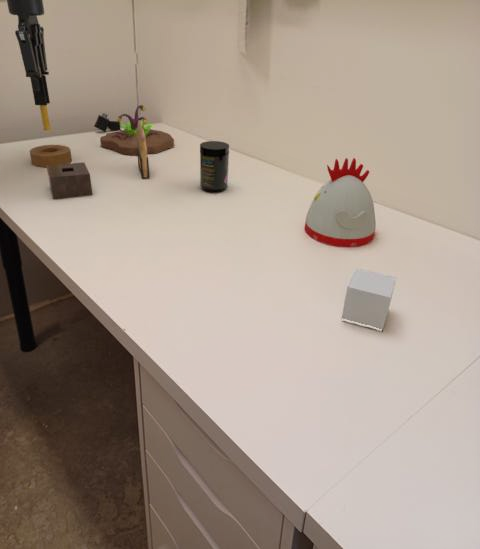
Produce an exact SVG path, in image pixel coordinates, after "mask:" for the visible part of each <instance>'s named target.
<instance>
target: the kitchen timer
mask: <svg viewBox="0 0 480 549" xmlns="http://www.w3.org/2000/svg"><path fill="white" fill-rule="evenodd" d="M326 168H327V172H328V174H329V177H330V179H329V180H327V182H326V183H324V184H323V185H322V186H321V187H320V188H319V190H318V191H317V192H316V194H314V195H315V196H313V200H312V201H311V202H310V206H309V208H308V210H307V214H306V217H305V223H304V231H305V233H306V234H307V236H309V237H310V238H311V239H312V240H315V241H316V242H319V243H322V244H325V245H330V246H333V247H341V248H354V247H355V246H356V247H361V246H364V244H365V245H367V244H369V243H371V242H372V241H373V240H374V238H373V237H375V233H376V226H377V223H376V215H375V214H376V213H375V206H374V200H373V198H372V197H373V196H372V194H371V193H370V190H369V189H368V187H367V186H366V184H365V183H364V182H365V181H366V179H367V178H368V176H369V174H370V170H369V169H366V171H364V173H363V174H362V175H361V173H362V171H363V168H364V165H363V164H362V163H360V164H359V165H358V166H357V160H356V158H355V157H353V158H352V160H351V163H350V165H349V159H348V158H347V157H345V159H344V161H343V164H342V166H341V168H340V163H339V160H338V159H337V158H335V161H334V165H333V169H331V167H330V166H329V165H328V164H327V165H326ZM371 240H372V241H371ZM370 241H371V242H370ZM368 242H369V243H368Z"/></svg>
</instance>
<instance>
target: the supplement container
mask: <svg viewBox="0 0 480 549" xmlns="http://www.w3.org/2000/svg"><path fill="white" fill-rule="evenodd" d="M229 159H230V144H229V143H227V142H224V141H221V140H208V141H204V142H203V141H202V142H201V143H200V144H199V167H200V168H199V169H200V170H199V175H200V176H199V180H200V182H199V186H200V188H201V190H202V191H204V192H207V193H222V192H225V191H226V190H227V189H228V188H229V166H230V164H229V163H230V160H229Z"/></svg>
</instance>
